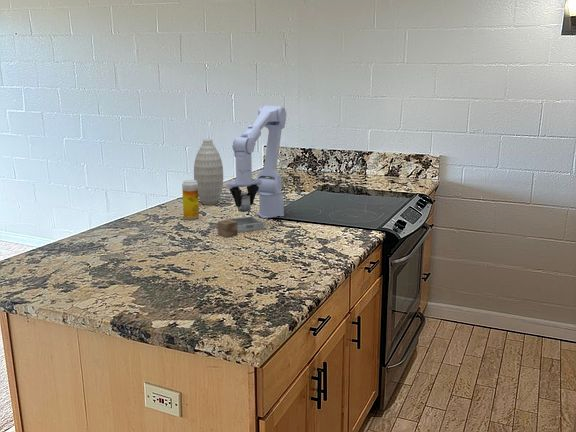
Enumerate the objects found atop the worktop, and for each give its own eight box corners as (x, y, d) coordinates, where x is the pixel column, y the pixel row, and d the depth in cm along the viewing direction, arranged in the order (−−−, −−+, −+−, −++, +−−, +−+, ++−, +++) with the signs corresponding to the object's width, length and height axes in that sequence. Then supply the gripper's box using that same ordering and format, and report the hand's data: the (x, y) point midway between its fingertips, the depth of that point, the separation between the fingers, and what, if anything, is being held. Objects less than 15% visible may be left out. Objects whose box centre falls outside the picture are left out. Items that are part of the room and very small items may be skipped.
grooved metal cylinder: (253, 210, 216) (253, 195, 215) (241, 212, 214) (241, 197, 212) (247, 207, 220) (246, 192, 219) (235, 209, 218) (234, 194, 216)
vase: (189, 205, 253) (187, 140, 245) (204, 199, 264) (202, 137, 257) (215, 207, 248) (213, 142, 241) (228, 201, 259) (227, 138, 252)
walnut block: (228, 232, 212) (228, 219, 211) (237, 235, 209) (237, 221, 207) (218, 235, 209) (217, 221, 207) (226, 238, 205) (226, 224, 204)
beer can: (195, 220, 228) (194, 183, 224) (181, 219, 229) (179, 182, 225) (201, 216, 233) (200, 180, 230) (187, 215, 234) (185, 179, 231)
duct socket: (253, 222, 225) (253, 216, 225) (264, 229, 215) (264, 223, 215) (226, 225, 221) (226, 218, 220) (236, 233, 211) (236, 226, 210)
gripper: (254, 166, 220) (255, 201, 223) (221, 170, 212) (222, 206, 215) (264, 169, 214) (265, 204, 218) (230, 173, 206) (231, 209, 210)
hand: (244, 205), depth 216 cm, fingers closed on grooved metal cylinder, 5 cm apart
